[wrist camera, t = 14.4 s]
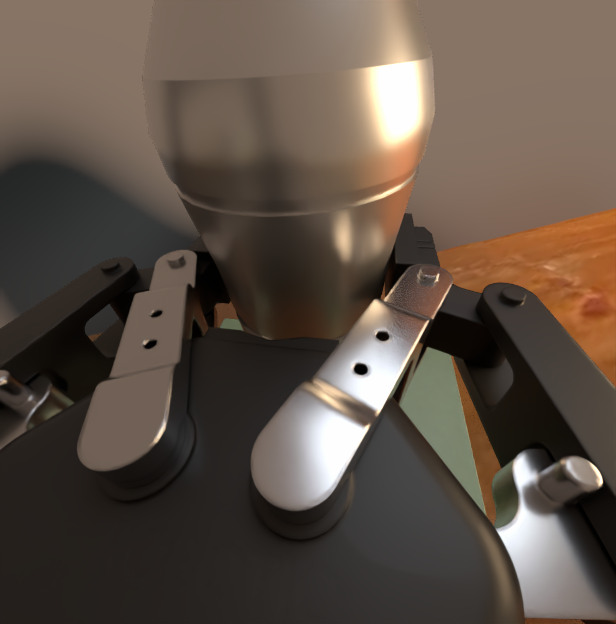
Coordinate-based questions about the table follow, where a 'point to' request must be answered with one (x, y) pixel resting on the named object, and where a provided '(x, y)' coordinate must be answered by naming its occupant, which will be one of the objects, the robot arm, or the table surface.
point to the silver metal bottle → (292, 146)
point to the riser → (436, 415)
